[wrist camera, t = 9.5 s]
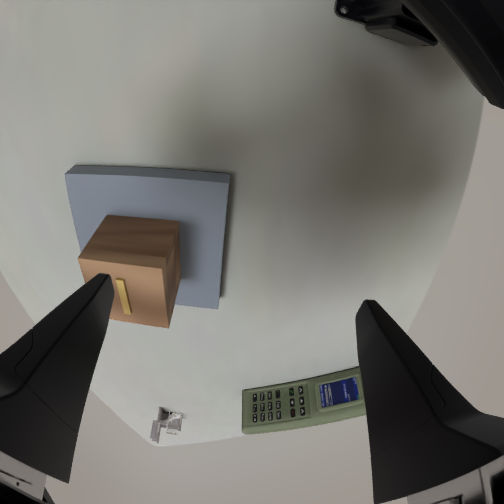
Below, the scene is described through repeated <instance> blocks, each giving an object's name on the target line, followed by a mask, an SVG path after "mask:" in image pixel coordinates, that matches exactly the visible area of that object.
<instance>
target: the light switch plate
mask: <svg viewBox="0 0 504 504" xmlns="http://www.w3.org/2000/svg"><path fill="white" fill-rule="evenodd" d="M65 179H66V185H67V191H68V196H69V201H70V206H71V211H72V216H73V220H74V225H75V229H76V233H77V238H78V242H79V245H80V249H81V252H82V251H83V249H84V247H85V246H86V244H87V243H88V241H89V240H90V238H91V237H92V235H93V234H94V232H95V231H96V229H97V228H98V226H99V225H100V224H101V222H102V221H103V219H104V218H105V216H106V215H117V216H129V217H141V218H152V219H164V220H175V221H179V241H180V270H181V281H180V285H179V289H178V293H177V297H176V301H175V304H177V305H185V306H193V307H202V308H211V309H218V306H219V297H220V284H221V271H222V259H223V247H224V236H225V224H226V214H227V203H228V193H229V183H230V174H225V173H215V172H204V171H192V170H179V169H164V168H147V167H124V166H73V167H72V168H71V169H70V170H69V171H67V172H66V173H65Z"/></svg>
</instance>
